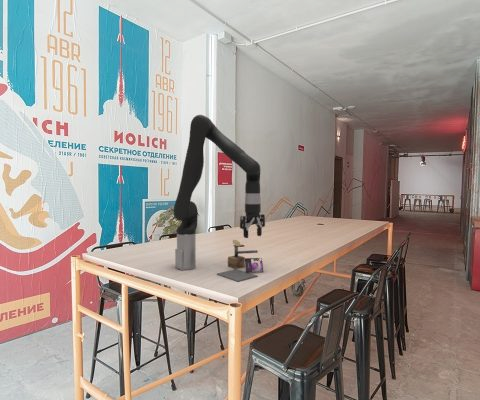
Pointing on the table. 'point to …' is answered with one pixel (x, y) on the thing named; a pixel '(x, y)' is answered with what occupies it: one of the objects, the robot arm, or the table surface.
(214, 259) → the table surface
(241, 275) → the rubber mat
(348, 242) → the table surface
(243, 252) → the t key
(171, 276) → the table surface
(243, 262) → the block
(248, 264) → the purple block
